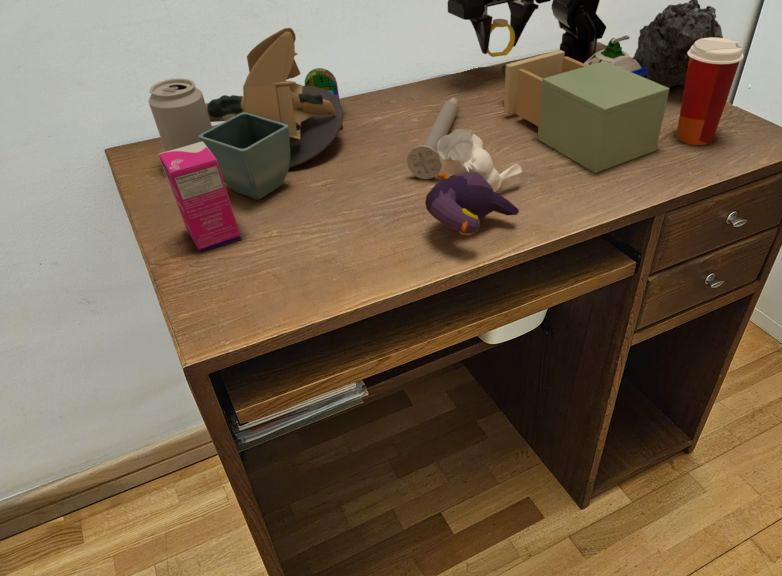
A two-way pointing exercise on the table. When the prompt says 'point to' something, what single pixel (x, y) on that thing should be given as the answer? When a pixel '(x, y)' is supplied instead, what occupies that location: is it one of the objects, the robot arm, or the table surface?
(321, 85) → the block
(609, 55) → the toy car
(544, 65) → the drawer
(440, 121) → the screw
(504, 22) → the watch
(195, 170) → the supplement box
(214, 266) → the table surface
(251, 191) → the flower pot
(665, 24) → the rock
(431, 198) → the toy
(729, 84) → the paper cup
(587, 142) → the storage box
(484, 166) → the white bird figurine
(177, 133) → the can
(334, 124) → the toy
